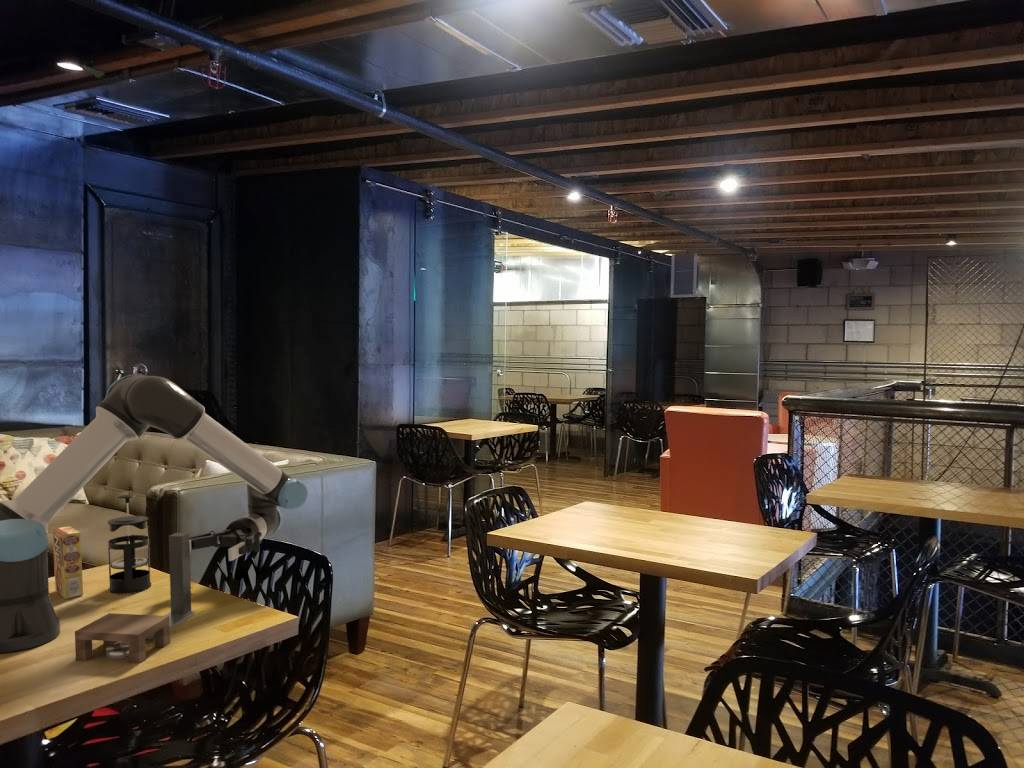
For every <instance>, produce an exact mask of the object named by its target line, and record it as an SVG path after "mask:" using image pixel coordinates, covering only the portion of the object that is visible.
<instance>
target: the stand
mask: <svg viewBox="0 0 1024 768" xmlns="http://www.w3.org/2000/svg"><path fill="white" fill-rule="evenodd" d="M170 632H171V630H170V627H169V616H164V615H153V614H151V615H150V614H133V613H132V614H131V613H111V612H109V613H107V614H105V615H103V616H101V617H100V618H98V619H96V620H93V621H92V622H91V623H88V624H86V625H84V626H82V627H80V628H79V629H78V630H75V631H74V642H75V643H74V645H75V661H85V662H86V661H87V660H89V659H91V658H92V657H93V655H94V653H93V641H97V642H98V641H99V642H103V645H114V644H117V643H123V642H129V656H128V657H129V658H128V659H129V664H137V663H140V664H141V663H143V662H144V661H146V660H147V654H146V647H147V646H146V639H145V638H147V637H149V636H150V635H152V634H153V633H154V638H155V639H154V647H155V646H157V647H159V648H165V647H166V646H168V645H169V644H171V637H170V636H171V634H170ZM157 647H156V648H157ZM145 659H146V660H145Z"/></svg>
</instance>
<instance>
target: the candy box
mask: <svg viewBox="0 0 1024 768" xmlns="http://www.w3.org/2000/svg"><path fill="white" fill-rule="evenodd" d="M51 532H52V537H51V538H52V551H53V553H52V554H53V567H54V568H53V569H54V585H55V588H54V589H55V592H57V594H58V595H60V596H61V597H63V598H64V599H72V598H76V597H79V596H80V597H81V596H84V587H83V583H84V582H83V565H82V545H81V544H82V543H81V532H80V531H78V530H77V529H76V528H73V527H72V526H62V527H57V528H52V531H51Z"/></svg>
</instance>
